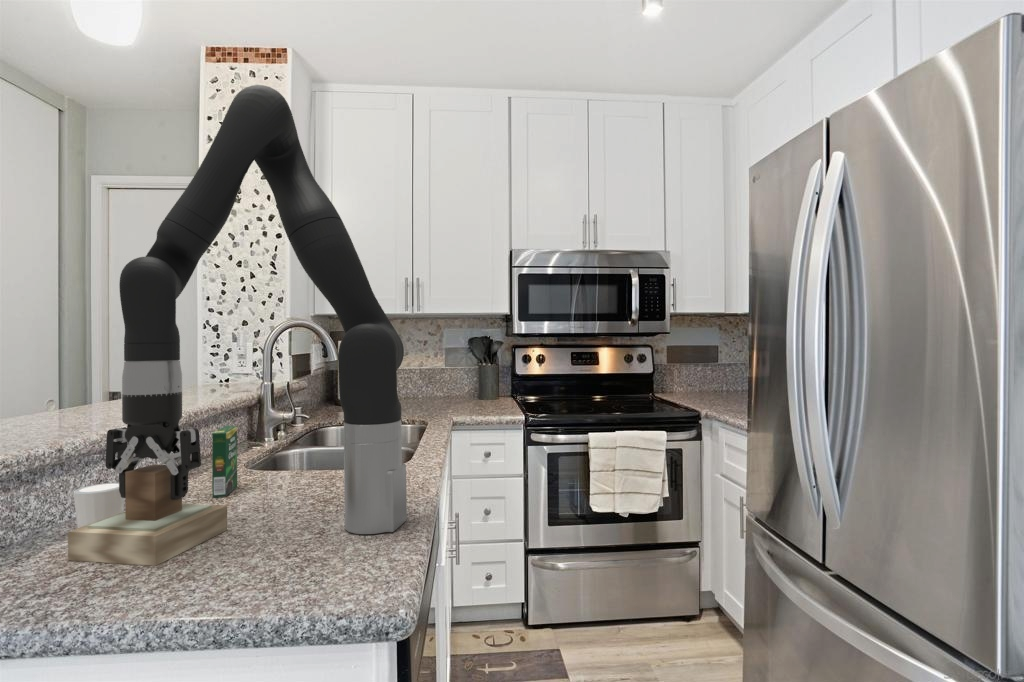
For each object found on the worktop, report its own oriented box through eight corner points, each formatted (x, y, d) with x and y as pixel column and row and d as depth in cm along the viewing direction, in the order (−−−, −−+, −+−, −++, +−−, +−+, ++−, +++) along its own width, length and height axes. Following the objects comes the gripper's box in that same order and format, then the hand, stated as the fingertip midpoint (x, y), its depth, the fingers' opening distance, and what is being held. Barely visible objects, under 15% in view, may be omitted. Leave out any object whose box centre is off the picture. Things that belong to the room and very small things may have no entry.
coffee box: (227, 497, 103) (226, 431, 103) (211, 498, 103) (210, 432, 103) (238, 486, 111) (238, 425, 111) (223, 487, 111) (223, 426, 111)
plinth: (227, 529, 85) (227, 502, 85) (155, 565, 71) (155, 533, 71) (152, 526, 87) (151, 499, 87) (68, 560, 73) (68, 528, 73)
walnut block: (182, 510, 81) (181, 465, 81) (155, 520, 76) (155, 472, 76) (153, 509, 82) (153, 464, 82) (125, 519, 77) (125, 472, 77)
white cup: (130, 520, 90) (130, 479, 90) (120, 533, 84) (120, 489, 84) (81, 526, 87) (80, 484, 87) (66, 540, 81) (66, 495, 81)
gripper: (212, 388, 82) (213, 492, 82) (133, 388, 84) (134, 489, 84) (174, 393, 74) (175, 507, 74) (89, 392, 77) (89, 503, 76)
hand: (153, 497), depth 79 cm, fingers open, 8 cm apart
